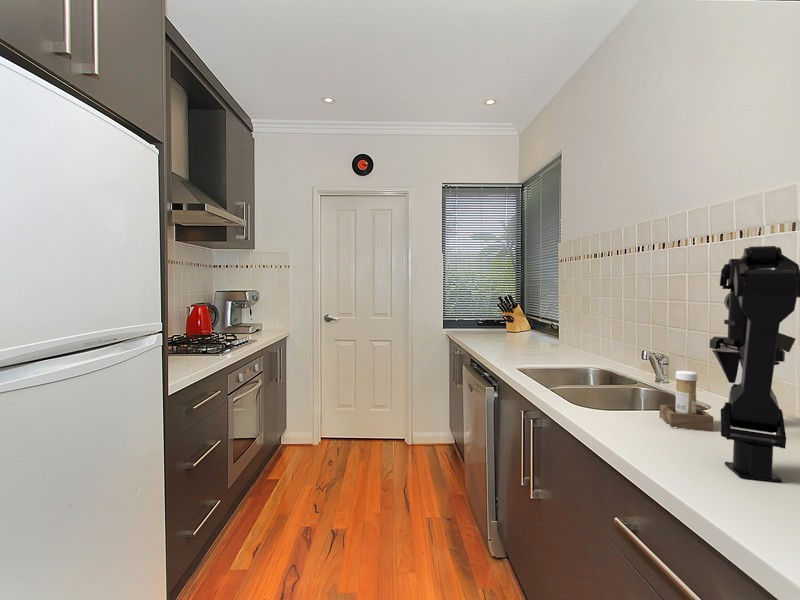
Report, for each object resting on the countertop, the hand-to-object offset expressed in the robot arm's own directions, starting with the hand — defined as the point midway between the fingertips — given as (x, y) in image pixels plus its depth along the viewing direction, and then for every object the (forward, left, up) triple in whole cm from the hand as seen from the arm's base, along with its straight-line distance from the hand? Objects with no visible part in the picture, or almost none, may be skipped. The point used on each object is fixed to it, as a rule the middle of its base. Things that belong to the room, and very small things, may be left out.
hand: (742, 387), depth 94 cm
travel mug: (+19, -9, -13) cm, 25 cm away
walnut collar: (+14, +6, -13) cm, 20 cm away
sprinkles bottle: (+14, +6, -13) cm, 20 cm away
